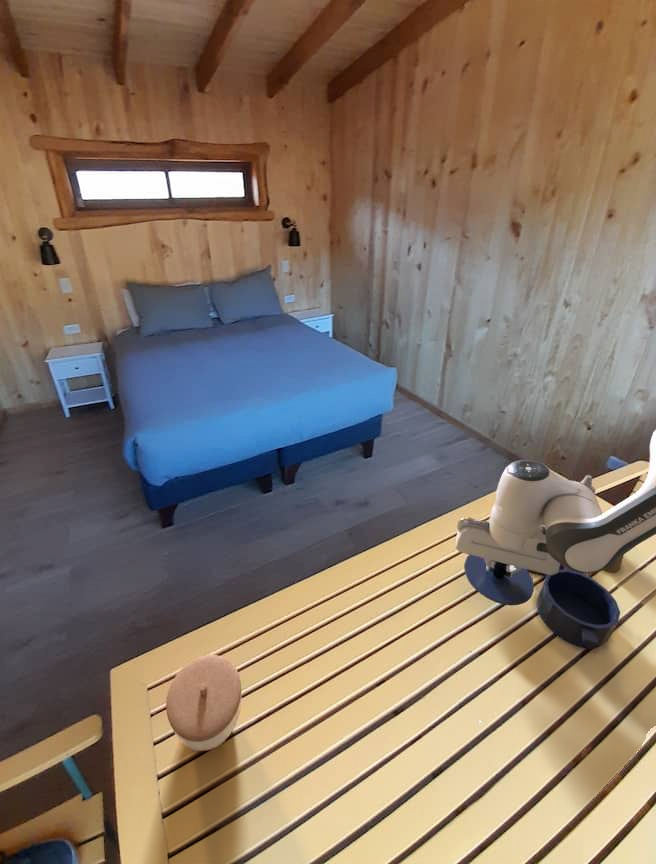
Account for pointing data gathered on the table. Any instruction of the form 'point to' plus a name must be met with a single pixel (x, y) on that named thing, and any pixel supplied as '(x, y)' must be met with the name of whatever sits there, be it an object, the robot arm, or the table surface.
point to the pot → (577, 609)
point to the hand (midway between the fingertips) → (499, 572)
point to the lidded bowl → (204, 702)
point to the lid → (499, 582)
